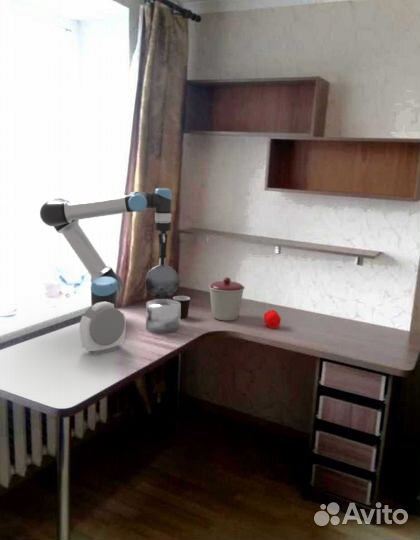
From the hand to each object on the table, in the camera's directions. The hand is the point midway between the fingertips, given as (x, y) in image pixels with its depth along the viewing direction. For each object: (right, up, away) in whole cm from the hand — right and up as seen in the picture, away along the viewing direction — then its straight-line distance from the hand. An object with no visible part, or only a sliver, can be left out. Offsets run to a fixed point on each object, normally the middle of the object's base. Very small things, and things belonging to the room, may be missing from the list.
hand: (162, 270), depth 241 cm
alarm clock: (-21, -33, -34) cm, 52 cm away
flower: (+53, -28, +4) cm, 60 cm away
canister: (+31, -24, +15) cm, 42 cm away
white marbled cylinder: (+1, -27, -4) cm, 27 cm away
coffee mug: (+8, -23, +15) cm, 29 cm away
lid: (0, -5, -1) cm, 5 cm away
